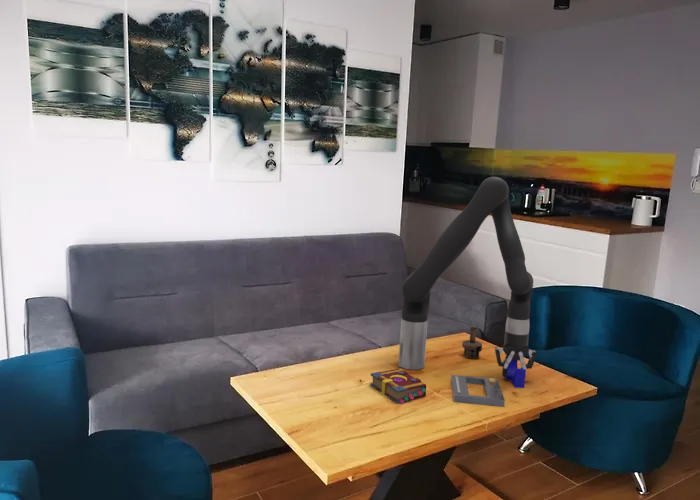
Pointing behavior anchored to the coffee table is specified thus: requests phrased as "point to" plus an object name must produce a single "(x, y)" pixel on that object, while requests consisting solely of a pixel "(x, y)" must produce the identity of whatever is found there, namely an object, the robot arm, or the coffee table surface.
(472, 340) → the industrial component
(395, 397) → the decorative book
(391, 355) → the coffee table surface
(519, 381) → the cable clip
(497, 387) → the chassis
